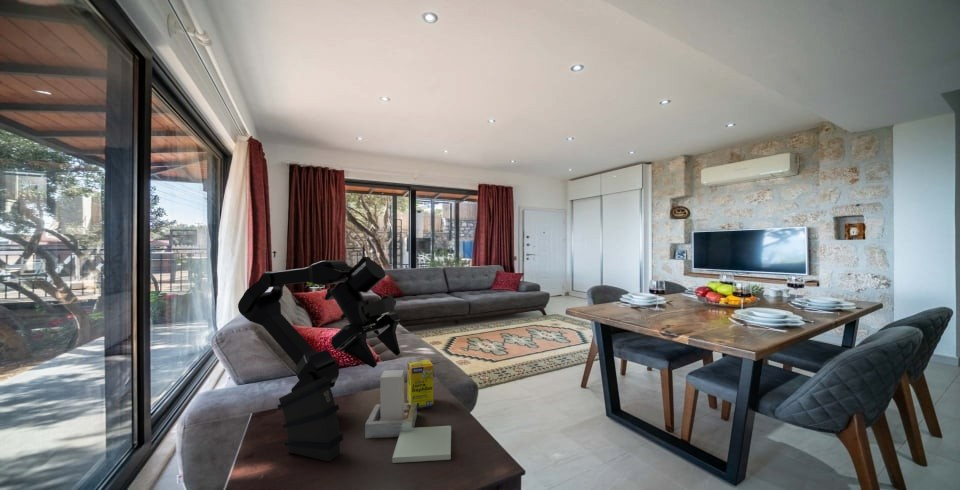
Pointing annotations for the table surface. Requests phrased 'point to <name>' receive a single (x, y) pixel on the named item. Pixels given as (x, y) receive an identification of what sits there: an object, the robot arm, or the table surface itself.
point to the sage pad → (423, 444)
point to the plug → (392, 395)
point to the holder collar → (390, 423)
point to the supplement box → (420, 383)
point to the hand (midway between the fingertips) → (387, 360)
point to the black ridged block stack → (312, 421)
